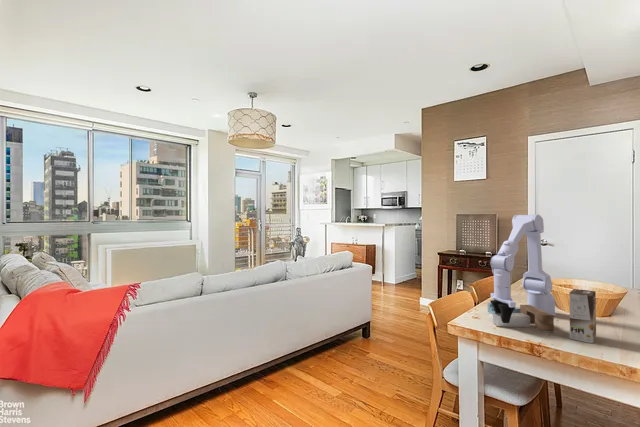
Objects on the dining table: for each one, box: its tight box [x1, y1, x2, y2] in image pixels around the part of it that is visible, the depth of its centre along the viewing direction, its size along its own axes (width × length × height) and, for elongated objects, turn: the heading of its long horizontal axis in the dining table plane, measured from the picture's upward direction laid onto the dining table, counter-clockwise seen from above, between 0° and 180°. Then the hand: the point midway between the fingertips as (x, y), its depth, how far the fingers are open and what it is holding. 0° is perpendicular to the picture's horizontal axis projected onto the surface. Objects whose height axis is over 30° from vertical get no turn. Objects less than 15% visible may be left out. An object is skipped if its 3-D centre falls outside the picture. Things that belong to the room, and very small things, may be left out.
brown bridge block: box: [519, 304, 555, 332], centre depth 126 cm, size 4×14×6 cm, turn 178°
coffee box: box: [569, 288, 597, 344], centre depth 113 cm, size 9×6×16 cm
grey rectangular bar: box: [492, 313, 531, 328], centre depth 126 cm, size 12×4×4 cm, turn 88°
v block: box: [487, 302, 520, 315], centre depth 139 cm, size 10×10×4 cm
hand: (502, 320), depth 126 cm, fingers closed on grey rectangular bar, 4 cm apart
